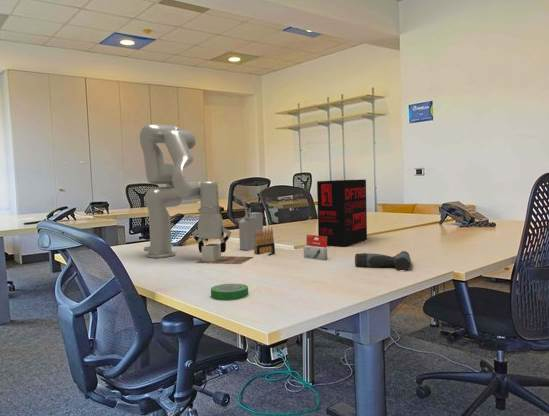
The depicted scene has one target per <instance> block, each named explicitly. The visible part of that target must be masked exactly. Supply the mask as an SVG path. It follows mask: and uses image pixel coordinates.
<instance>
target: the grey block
mask: <svg viewBox="0 0 549 416" xmlns="http://www.w3.org/2000/svg"><path fill="white" fill-rule="evenodd" d="M221 256H222V253H221V246H220V243H208V244H204V246H202V252H201V260H202V261H215V260H218V259H220V258H221Z"/></svg>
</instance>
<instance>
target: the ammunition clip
mask: <svg viewBox="0 0 549 416" xmlns="http://www.w3.org/2000/svg"><path fill="white" fill-rule="evenodd" d="M275 246H276V245H275V237H274V231H273V228H272V227H271V228H269V227H268V228H265V229H264V228H263V229H262V232H261V231H260V229H259V232H257V230H256V232H255V245H254V249H253V251H254V255H262V254H267V256H271V255H276V247H275ZM268 253H269V254H268Z"/></svg>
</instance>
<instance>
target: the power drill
mask: <svg viewBox="0 0 549 416" xmlns="http://www.w3.org/2000/svg"><path fill="white" fill-rule="evenodd" d="M410 256H411V255H410V253H409V252H407V251H403V250H402V251H401V252H398V253H397V254H395V255H394V256H390V255H386V254H381V253H370V252H369V253H364V252H362V253H355V255H354V266H355V267H358V266H363V267H362V268H385V267H389V266H390V267H391V266H393V267H395V268H396V270H398V271H400V270H406V271H407V270H408V269H409V268H410V266H411V261H412V259H411V257H410Z"/></svg>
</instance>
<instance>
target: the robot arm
mask: <svg viewBox="0 0 549 416" xmlns="http://www.w3.org/2000/svg"><path fill="white" fill-rule="evenodd" d="M196 142H197V141H196V135H194V133H193V132H192V131H191V130H188V129H185V128H182V127H179V126H177V125H171V124H161V123H149V124H145V125H143V127H142V128H141V129H140V132H139V144H140V148H141V150H142V154H143V159H144V169H145V176H146V181H147V182H148V183H149V184H151V185H165V186H158V187H156V186H155V187H152V188H149V189H148V190H147V191H146V193H145V202H146V203H145V204H146V206H147V212H148V213H147V214H148V221H149V222H148V223H149V224H148V225H149V244H150V245H149V246H144V248H143V251H144V252H148V253H147V255H146V256H147V258H153V259H157V258H160V259H161V258H169V257H173V256H175V255H176V251H173V247H172V229H171V226H172V225H171V216H170V213H169V212H168V210H167V208H173V207H178V206H180V205H181V204H182V202H183V200H185V201H188V200H200V202H199V203H200V207H199V208H198V209H197V211H198V212H200V214H199V215H198V221H197V222H198V224H197V229H196V230H194V231H193V232H191V234H192V236H193V238H194V240H195V241H196V243H197V244H198V247H197V248H198V251H199V254H200V253H201V254H202V246H205V243H204V240H209V239H210V240H213V239H214V240H216V239H218V240H219V242H220V243H219V244H220V246H221V254H222V253H225V252H226V250H227V244H226V243H227V241H228V240H229V239H230V237H231V235H232V231H231V230H229V229H227V228H225V226H224V221H223V217H222V214H221V213H220V202H219V201H220V200H219V197H220V196H219V185H218V182H217V181H216V180H207V181H206V180H205V181H203V180H201V181H199V180H196V181H193V180H192V181H191V180H190V181H188V180H187V179H186V177H185V175H184V169H186V167H189V166H190V165H191V164H192V163H193V161H194V157H193V155H192V153H191V150H192V149H193V148H194V147H195V146H196V144H197V143H196ZM157 144H165V146H166V148H167V150H168V151H167V152H168V153H169V155H170V158H171V159H172V160H171V161H172V163H173V164H172V163H165V161H164V155H163V152H162V149H161V148H160V146H159V145H157ZM225 233H226V235H225Z"/></svg>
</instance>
